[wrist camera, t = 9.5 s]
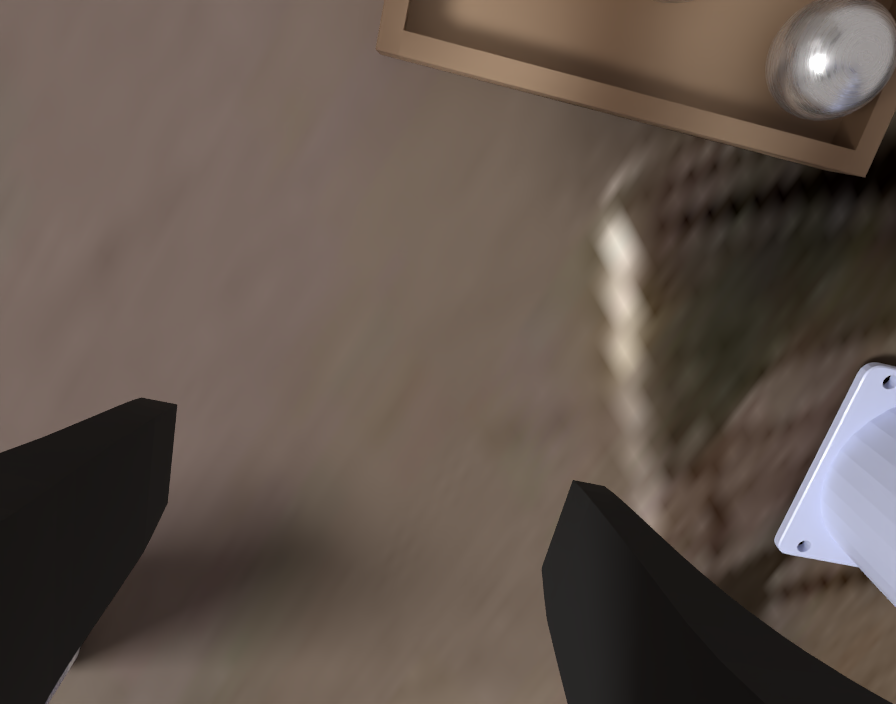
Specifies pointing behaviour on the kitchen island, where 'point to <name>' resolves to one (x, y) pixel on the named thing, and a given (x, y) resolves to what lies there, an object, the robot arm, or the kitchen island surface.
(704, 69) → the tray
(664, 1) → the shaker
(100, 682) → the kitchen island surface
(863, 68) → the steel ball
